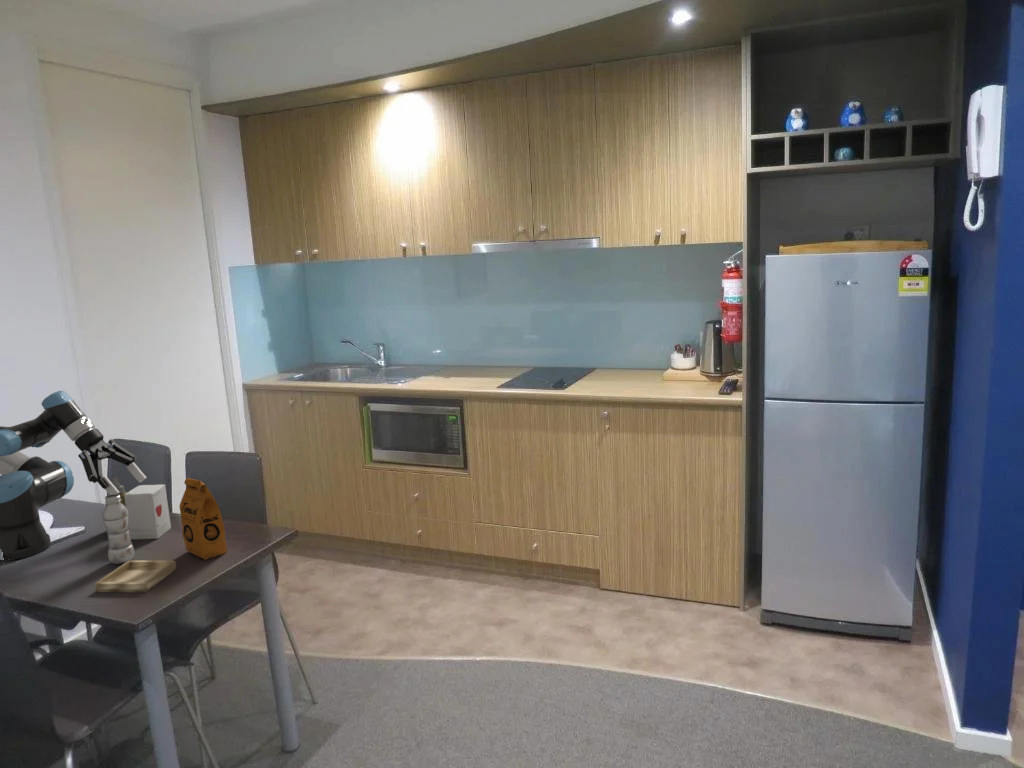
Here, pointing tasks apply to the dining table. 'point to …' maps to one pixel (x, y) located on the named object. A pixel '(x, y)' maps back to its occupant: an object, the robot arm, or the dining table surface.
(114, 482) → the squeeze bottle
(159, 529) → the supplement box
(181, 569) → the dining table surface
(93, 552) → the dining table surface
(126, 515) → the plastic bottle
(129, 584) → the bamboo tray
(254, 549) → the dining table surface
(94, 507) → the dining table surface
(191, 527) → the coffee package
